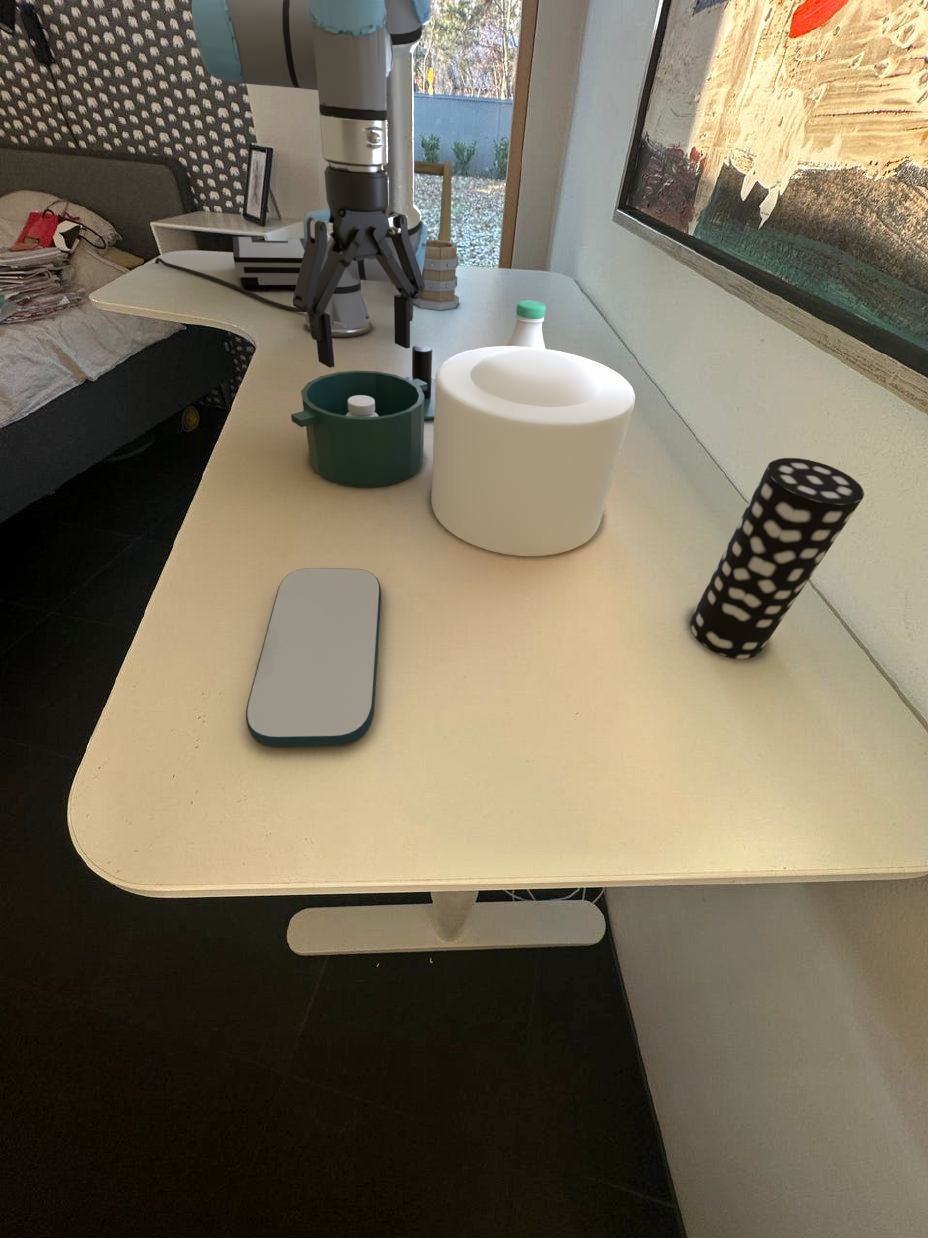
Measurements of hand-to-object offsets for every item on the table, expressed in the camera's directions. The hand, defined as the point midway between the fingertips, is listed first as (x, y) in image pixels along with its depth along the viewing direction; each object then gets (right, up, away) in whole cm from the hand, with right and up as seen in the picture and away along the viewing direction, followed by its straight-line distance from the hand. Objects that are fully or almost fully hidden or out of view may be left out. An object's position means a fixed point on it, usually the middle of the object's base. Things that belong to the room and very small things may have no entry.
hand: (366, 354), depth 80 cm
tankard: (+2, +51, +74) cm, 90 cm away
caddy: (-6, +67, +91) cm, 113 cm away
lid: (+6, +4, +25) cm, 26 cm away
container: (+22, -22, +1) cm, 31 cm away
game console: (-41, +62, +82) cm, 110 cm away
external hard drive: (-1, -42, -22) cm, 48 cm away
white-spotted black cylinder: (+45, -40, -15) cm, 62 cm away
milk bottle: (+24, -3, +21) cm, 32 cm away
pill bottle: (-2, -13, +8) cm, 15 cm away
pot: (-1, -13, +8) cm, 15 cm away
